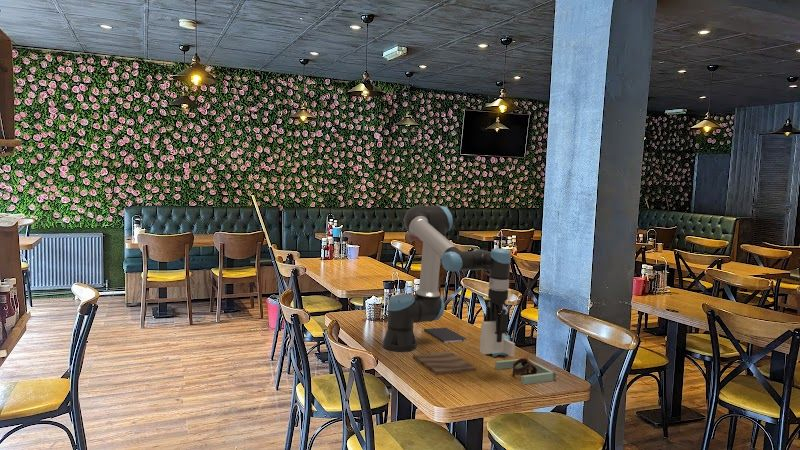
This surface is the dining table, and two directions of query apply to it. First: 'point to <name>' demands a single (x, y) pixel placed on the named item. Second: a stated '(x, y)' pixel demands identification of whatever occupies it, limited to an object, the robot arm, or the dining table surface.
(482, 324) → the grey l-shaped bookend
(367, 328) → the dining table surface
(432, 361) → the board
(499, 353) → the blue piggy bank
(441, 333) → the notebook
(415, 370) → the dining table surface
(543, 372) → the corral
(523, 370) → the brown twisted sculpture
